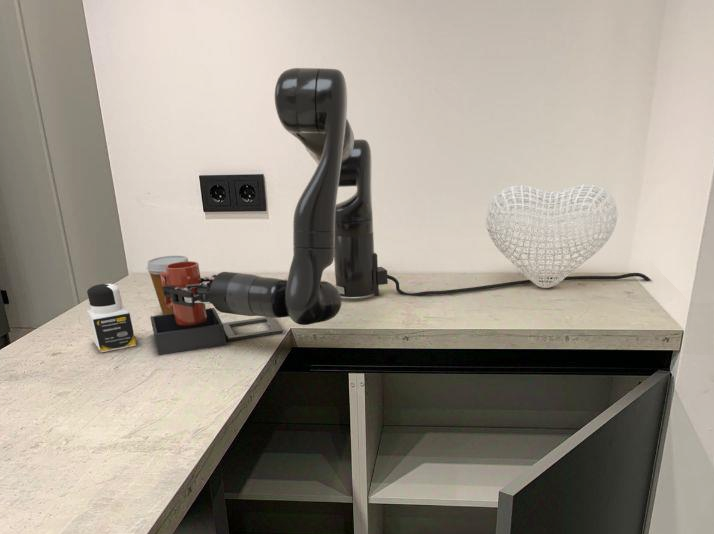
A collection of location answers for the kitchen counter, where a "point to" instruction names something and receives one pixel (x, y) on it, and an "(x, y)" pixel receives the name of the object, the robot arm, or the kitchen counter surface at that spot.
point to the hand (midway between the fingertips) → (177, 286)
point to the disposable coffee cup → (155, 269)
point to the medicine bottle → (109, 318)
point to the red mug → (181, 277)
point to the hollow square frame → (232, 336)
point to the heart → (551, 196)
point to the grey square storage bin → (187, 333)
